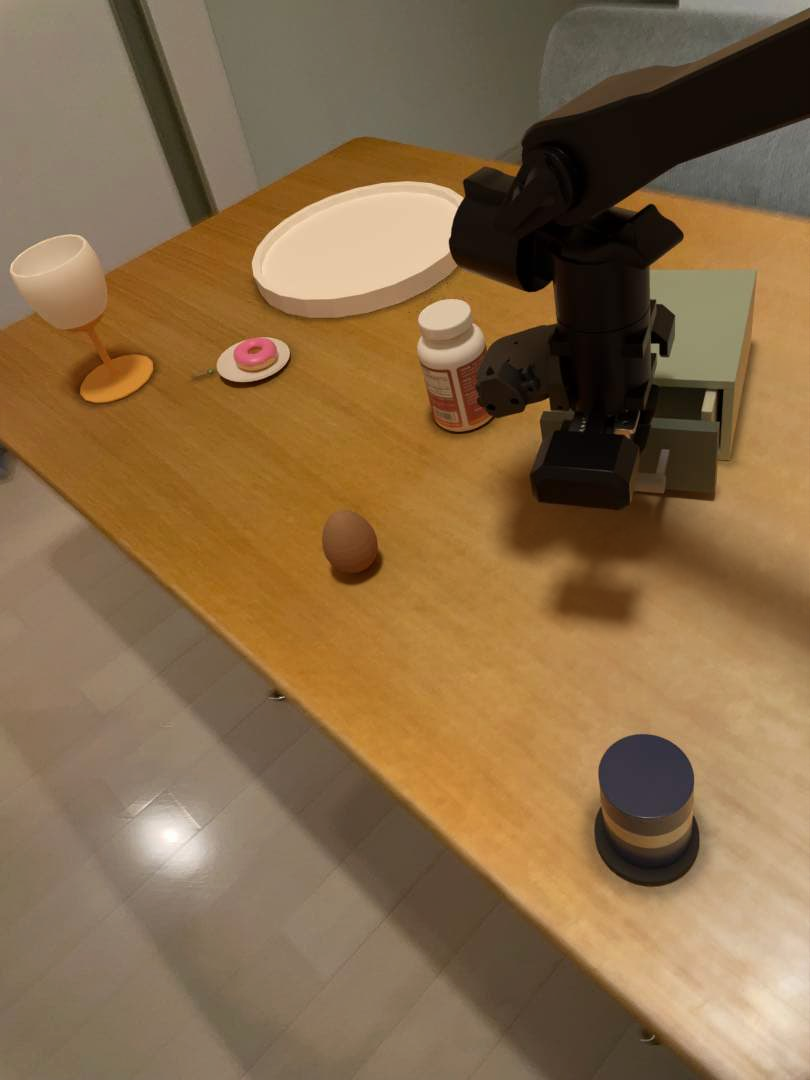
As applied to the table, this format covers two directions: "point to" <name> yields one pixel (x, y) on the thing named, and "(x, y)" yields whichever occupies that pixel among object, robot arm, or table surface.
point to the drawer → (673, 440)
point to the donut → (252, 359)
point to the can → (647, 800)
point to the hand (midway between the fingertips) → (613, 487)
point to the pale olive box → (708, 335)
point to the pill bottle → (452, 364)
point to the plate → (358, 250)
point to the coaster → (639, 873)
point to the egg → (349, 541)
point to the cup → (77, 308)
